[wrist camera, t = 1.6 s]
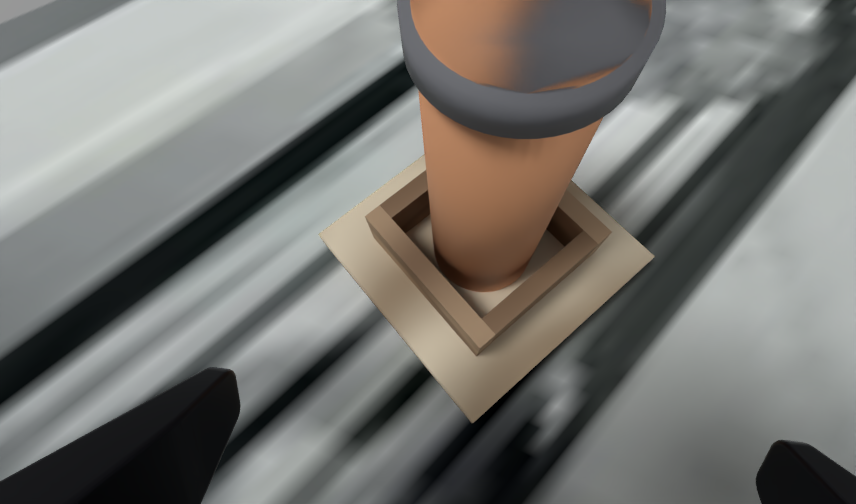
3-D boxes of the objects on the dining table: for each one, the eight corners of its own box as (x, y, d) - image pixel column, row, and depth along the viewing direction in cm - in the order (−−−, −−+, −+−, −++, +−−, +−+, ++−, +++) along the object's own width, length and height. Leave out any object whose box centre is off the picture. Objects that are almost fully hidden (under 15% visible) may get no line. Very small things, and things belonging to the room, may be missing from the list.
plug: (559, 250, 21) (724, 1, 8) (478, 320, 20) (525, 159, 8) (485, 177, 23) (531, -130, 10) (406, 240, 22) (345, -11, 9)
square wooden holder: (641, 266, 22) (680, 236, 19) (471, 422, 20) (476, 424, 16) (487, 122, 25) (493, 71, 22) (326, 245, 23) (302, 212, 20)
